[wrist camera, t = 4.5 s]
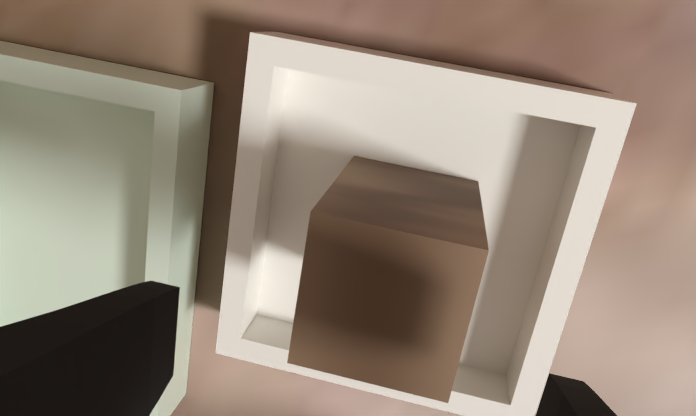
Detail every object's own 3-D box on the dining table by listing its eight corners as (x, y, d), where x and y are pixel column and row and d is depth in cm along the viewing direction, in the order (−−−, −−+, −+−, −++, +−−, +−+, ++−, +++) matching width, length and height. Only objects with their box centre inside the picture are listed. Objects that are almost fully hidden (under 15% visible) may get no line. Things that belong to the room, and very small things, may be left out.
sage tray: (214, 82, 20) (181, 90, 17) (186, 393, 24) (156, 434, 21) (-42, 32, 21) (-105, 33, 18) (-27, 337, 25) (-77, 370, 22)
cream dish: (611, 93, 18) (636, 103, 15) (521, 386, 21) (529, 432, 19) (275, 31, 19) (250, 32, 16) (241, 318, 22) (215, 353, 20)
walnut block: (478, 181, 18) (488, 250, 13) (450, 294, 19) (448, 403, 14) (354, 155, 19) (310, 211, 13) (334, 267, 20) (286, 362, 14)
